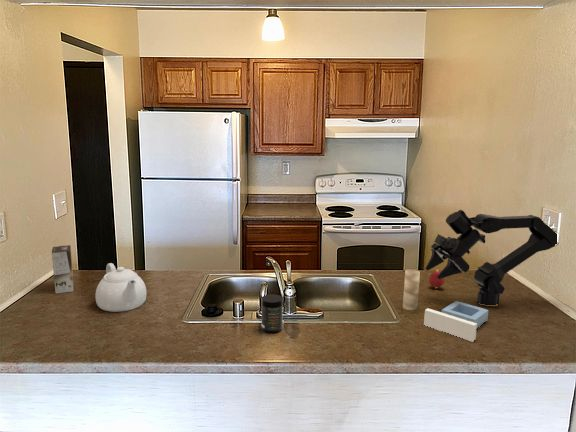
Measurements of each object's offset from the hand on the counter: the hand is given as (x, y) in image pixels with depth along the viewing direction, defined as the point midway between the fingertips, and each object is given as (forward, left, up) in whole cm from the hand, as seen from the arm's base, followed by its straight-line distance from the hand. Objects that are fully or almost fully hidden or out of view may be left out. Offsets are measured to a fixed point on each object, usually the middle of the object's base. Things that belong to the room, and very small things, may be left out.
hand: (431, 273), depth 162 cm
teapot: (+109, -13, -13) cm, 111 cm away
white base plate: (-5, +15, -13) cm, 20 cm away
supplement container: (+57, +12, -13) cm, 60 cm away
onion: (-11, -19, -13) cm, 25 cm away
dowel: (+7, 0, -13) cm, 15 cm away
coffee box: (+134, -29, -13) cm, 138 cm away
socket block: (-7, +13, -12) cm, 19 cm away
